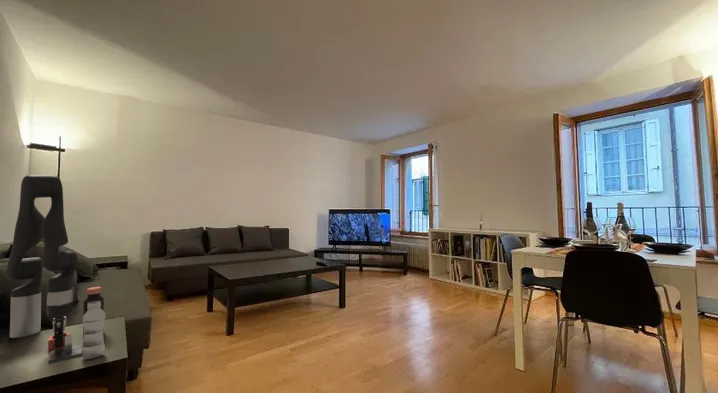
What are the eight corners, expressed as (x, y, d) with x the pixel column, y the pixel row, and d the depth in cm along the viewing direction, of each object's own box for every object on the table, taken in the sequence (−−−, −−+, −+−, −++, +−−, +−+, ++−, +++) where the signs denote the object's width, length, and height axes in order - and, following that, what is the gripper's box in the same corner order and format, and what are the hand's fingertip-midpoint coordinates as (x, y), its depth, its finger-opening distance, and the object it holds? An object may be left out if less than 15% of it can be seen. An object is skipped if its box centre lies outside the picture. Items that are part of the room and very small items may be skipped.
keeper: (50, 353, 117) (51, 335, 117) (85, 345, 124) (86, 328, 124) (48, 363, 110) (48, 343, 110) (86, 354, 116) (86, 335, 117)
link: (49, 346, 124) (49, 336, 124) (69, 341, 128) (69, 331, 128) (47, 351, 120) (48, 340, 120) (69, 346, 124) (69, 336, 124)
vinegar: (104, 334, 135) (104, 287, 136) (83, 339, 131) (84, 291, 131) (102, 329, 140) (103, 285, 141) (82, 334, 135) (83, 288, 136)
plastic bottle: (85, 355, 116) (86, 301, 116) (108, 352, 118) (108, 299, 119) (77, 363, 110) (78, 306, 110) (100, 359, 112) (101, 303, 113)
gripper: (48, 300, 127) (47, 341, 127) (45, 308, 116) (44, 353, 116) (73, 296, 132) (72, 336, 132) (72, 303, 121) (71, 347, 121)
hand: (59, 344), depth 124 cm, fingers closed on link, 6 cm apart
